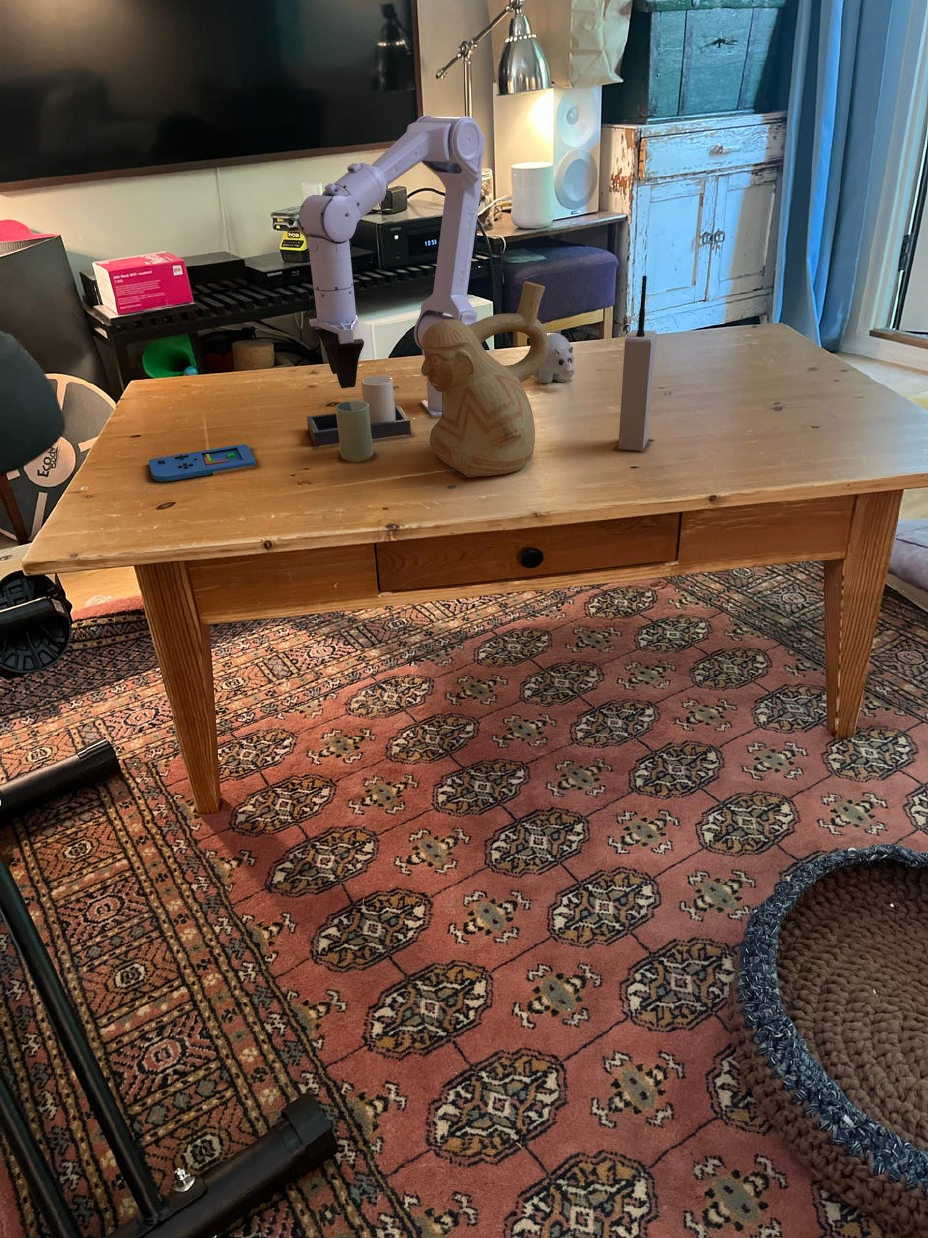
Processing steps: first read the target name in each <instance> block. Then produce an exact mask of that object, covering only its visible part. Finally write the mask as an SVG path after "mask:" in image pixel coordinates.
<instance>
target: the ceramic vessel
mask: <svg viewBox="0 0 928 1238" xmlns="http://www.w3.org/2000/svg"><path fill="white" fill-rule="evenodd" d="M545 289H546V286H544V285H542V284H539V283H535V282H531V281H530V282H529V281H524V282H523V284H522V289H521V290H522V291H521V296H520V301H519V305H518V309H517V311H516V312H514V313H512V312H511V313H498V314H494V315H489V316H487V317H484V318H482V319H479V320H478V321H477V320H476V322H475V323H473V324H471V325H468V326H467V325H465V324H464V323H462V322H460V321H458V320H453V319H446V320H441V321H438V322H436V323H434V324H433V325H431V326H430V327H429V328H428V329H427V330H426V331H425V333H424V335H423V337H422V340H421V344H422V346H424V354H425V356H424V360H423V362H422V365H421V368H420V372H421V374H422V376H424V377H426V376H428V380H429V381H430V383H431V386H433V387H434V388H435V389H436V390H437V391H438V392H442V415H440V418H439V419H438V421H437V422H436V423H435V424H434V425H433V427H432V429H430V430H431V431H430V434H429V446H430V447H431V448H432V451H433V452H434V454H435V456H437V457H438V458H439V460H440V461H442V462H443V463H444V464H446V465H447V466H448V467H450V468H452V469H453V470H456V471H458V472H459V473H461V474H463V475H464V476H465V477H466V478H469V479H472V478H477V477H491V476H499V475H505V474H510V473H514V472H517V471H519V470H522V469H524V468H525V467H526V466H527V465H528V464H529V463H530V461H531V459H532V457H533V454H534V450H535V445H536V443H535V442H536V427H535V426H536V425H535V419H534V415H533V414H534V413H533V408H532V406H531V402H530V400H529V397H528V395H527V393H526V391H525V389H524V387H523V385H522V383H523V382H526V381H527V380H529V379H530V378H532V377H534V376H533V375H534V374H535V373H536V372H537V371H538V370H539V369H540V368H541V366H542V364H543V363H544V361H545V358H546V355H547V352H548V346H549V344H548V337H547V334H548V333H547V330H546V327H544V325H543V323H542V322H541V321H540V320H539V319H538V313H539V308H540V304H541V301H542V298H543V296H544V292H545V291H546V290H545ZM508 332H511V333H512V332H516V333H522V334H524V335H526V336H527V337H528V339H529V341H530V342H529V343H530V344H529V349H528V352H527V353H526V354H525V356H524V357H523V358H522V359H521V360H519V361H517V362H515V363H513V364H507V365H504V364H501V363H500V362H499V361H498V360H496V359H495V358H494V357H493V356H491V355H490V353H488V352H487V351H486V350H485V348H484V346H483V343H484V342H485V341H486V340H488V339H490V338H491V337H493V336H495V335H498V334H502V333H508Z"/></svg>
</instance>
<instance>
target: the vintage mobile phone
mask: <svg viewBox="0 0 928 1238" xmlns="http://www.w3.org/2000/svg"><path fill="white" fill-rule="evenodd" d="M647 281H648V276H647V275H645V274H644V275H643V276H642V278H641V292H640V307H639V311H638V324H637V329H632V330H631V331H630V332H629V333H628V335H627V336H626V337H625V339H624V348H623V349H624V351H623V365H622V366H623V367H622V382H621V399H620V414H619V429H618V430H619V432H618V449H619V450H623V451H634V452H643V450H644V449H645V447H646V444H647V443H648V440H649V434H650V428H649V427H650V426H649V425H650V424H649V423H650V411H651V399H652V389H653V375H654V374H653V373H654V367H655V357H656V345H657V331H656V330H645V319H646V307H645V306H646V294H647Z"/></svg>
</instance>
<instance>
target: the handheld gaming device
mask: <svg viewBox="0 0 928 1238" xmlns="http://www.w3.org/2000/svg"><path fill="white" fill-rule="evenodd" d="M256 464H257V462H256V458H255V456H254V455H253V453H252V451H251V449H250V447H249V446H248V444H246V443H240V444H236V445H230V446H229V445H228V446H224V447H223V446H222V447H217V448H211V449H205V450H199V451H198V450H197V451H193V452H187V453H180V454H174V455H173V454H172V455H167V456H161V457H153V458H150V459H149V460H148V465H149V468H150V472H151V473H150V474H151V477H152V479H153V480H154V481H157V482H173V481H179V480H185V479H190V478H197V477H202V476H208V475H214V473H217V472H223V471H229V470H235V469H240V468H246V467H252V466H255V465H256Z"/></svg>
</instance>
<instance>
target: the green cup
mask: <svg viewBox="0 0 928 1238" xmlns="http://www.w3.org/2000/svg"><path fill="white" fill-rule="evenodd" d="M334 409H335V413H336V418H337V427H338V436H339V444H338V445H339V453H340V457H341V459H344V460H346V461H362V460H366V459H369V458H371V457H372V456H373V455H374V444H373V439H372V432H371V421H370V410H369V404H368V403H366V402H363V400H348V401H343V402H340V403H337V404H336V406H335V408H334Z"/></svg>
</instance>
